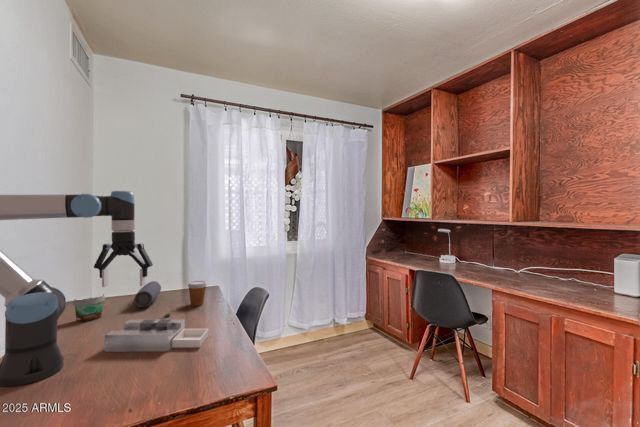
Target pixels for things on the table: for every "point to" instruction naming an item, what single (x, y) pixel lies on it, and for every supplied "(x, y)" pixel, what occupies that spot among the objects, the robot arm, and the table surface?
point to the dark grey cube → (163, 325)
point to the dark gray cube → (148, 325)
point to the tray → (190, 338)
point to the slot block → (142, 337)
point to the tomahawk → (165, 316)
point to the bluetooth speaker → (147, 294)
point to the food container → (88, 309)
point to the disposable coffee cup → (197, 292)
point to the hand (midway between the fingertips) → (124, 285)
